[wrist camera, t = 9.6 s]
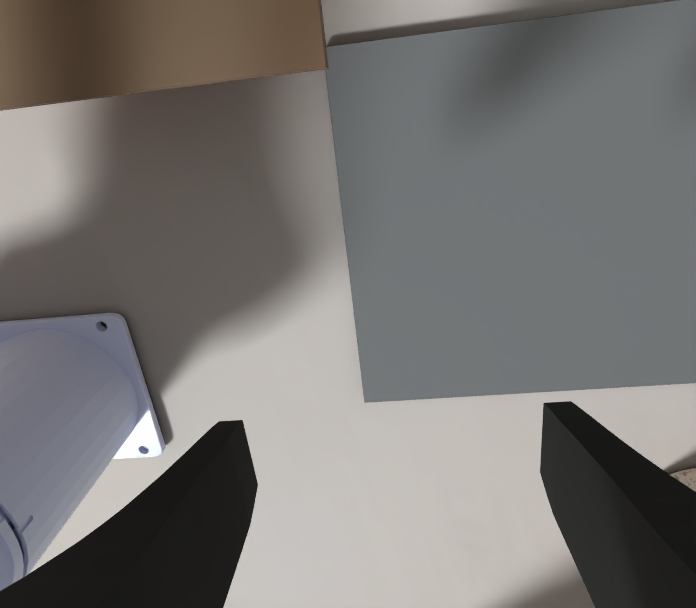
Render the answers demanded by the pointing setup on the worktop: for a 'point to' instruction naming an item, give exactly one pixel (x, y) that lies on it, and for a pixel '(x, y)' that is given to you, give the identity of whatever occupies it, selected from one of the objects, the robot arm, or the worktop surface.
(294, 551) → the worktop surface
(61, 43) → the walnut lid
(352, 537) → the worktop surface
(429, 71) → the rubber mat
